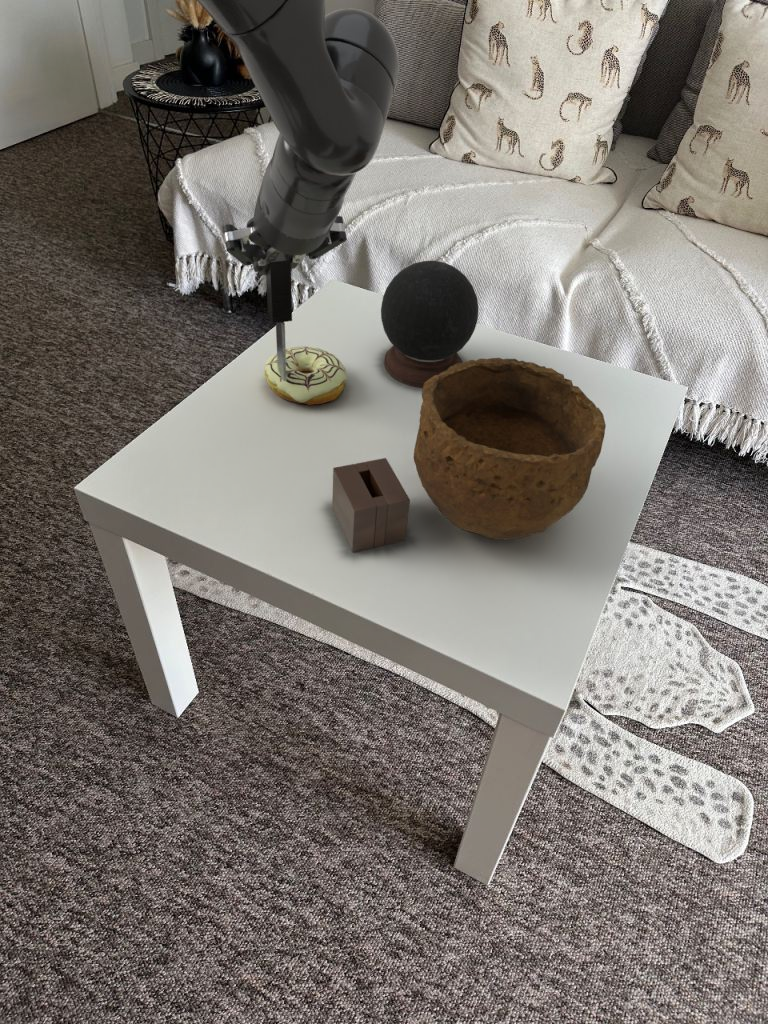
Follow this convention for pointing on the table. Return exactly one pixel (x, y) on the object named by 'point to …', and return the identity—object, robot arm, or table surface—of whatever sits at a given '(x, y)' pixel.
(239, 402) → the table surface
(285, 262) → the knife
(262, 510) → the table surface
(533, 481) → the bowl
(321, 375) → the decorated donut
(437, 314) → the black ball on stand
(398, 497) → the knife block
